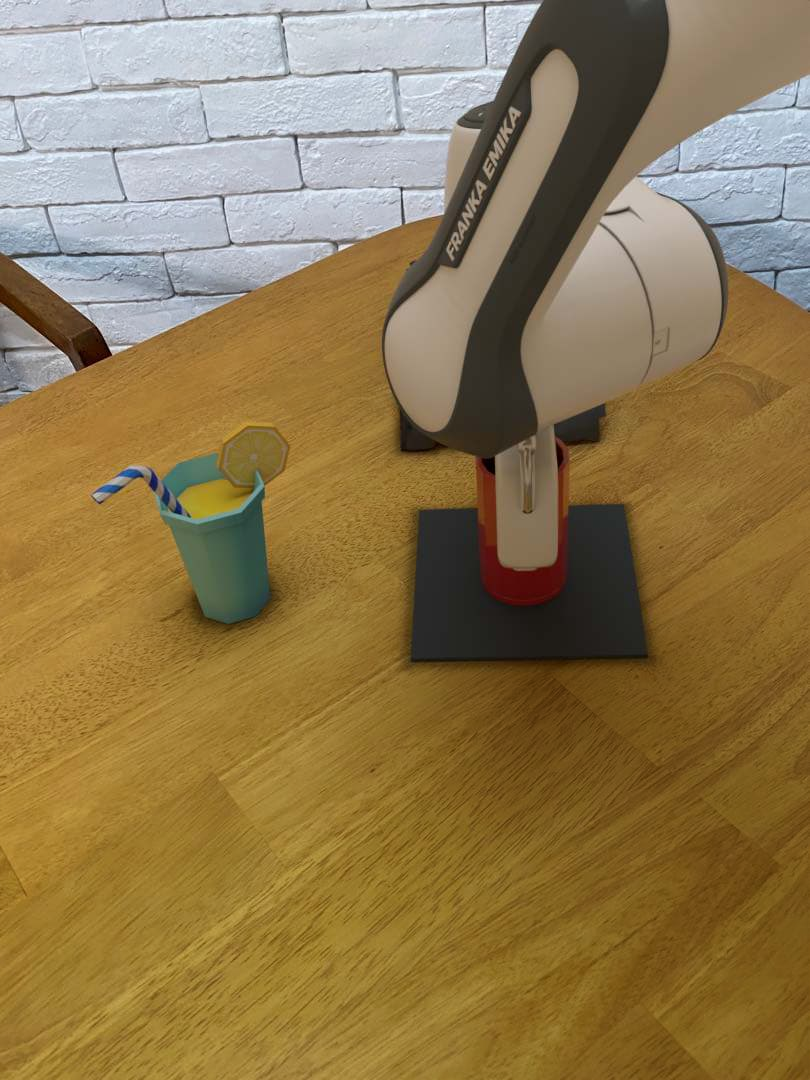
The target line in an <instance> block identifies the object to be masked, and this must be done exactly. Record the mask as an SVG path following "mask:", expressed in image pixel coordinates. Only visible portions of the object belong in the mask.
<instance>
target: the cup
mask: <svg viewBox="0 0 810 1080" xmlns="http://www.w3.org/2000/svg"><path fill="white" fill-rule="evenodd" d="M290 449H291V445H290V442H288V441H287V438H285V437H284V436H283V434H282V433H281V431H279V429H278V427H276V425H275V424H274V423H273V422H263V421H262V422H261V421H260V422H259V421H244V422H242V423H241V424H240V425H238V426H237V427H236V428H234V429H233V430H232V431H230V432H229V433H228V434H226V435H225V436H224V437H222V438H221V439H220V444H219V449H218V452H215V453H211V454H208V455H204V456H199V457H196V458H191V459H187V460H184V461H179V462H178V463H177V464H175V466H173V468H172V469H170V470H169V471H168V472H167V473H166V474H165V475H164V476H163V477H162V479H161V478H160V477H159V476H158V475H157V474H156V472H155V471H154V470H153V469H152V468H150V467H147V466H145V465H133V464H132V465H131V464H130V465H129V466H128V467H126V468H124V469H123V470H122V471H121V472H120V473H118V474H117V475H115V476H114V477H113V478H111V479H110V480H109V481H107V482H106V483H105V484H104V485H102V486H100V487H99V488H98V489H96V490H95V491H94V492H93V493H91V494H90V496H91V498H92V500H94V501H95V502H96V503H97V504H98V505H102V504H103V503H104V502H106V501H107V500H109V499H110V498H111V497H112V496H114V495H115V494H117V493H119V491H121V490H123V489H124V488H125V487H127V486H128V485H129V484H132V482H133V481H135V480H136V479H138V478H141V479H142V480H143V481H144V482H145V483H146V484H147V485H148V487H149V488H150V489H151V490H152V491H153V495H154V499H155V501H156V505H157V508H158V512H159V516H160V517H161V520H162V521H163V524H164V525H166V526H168V527H169V528H170V532H171V534H172V537H173V539H174V541H175V544H176V547H177V550H178V551H179V554H180V557H181V559H182V562H183V564H184V565H183V566H184V567H185V569H186V572H187V575H188V577H189V580H190V582H191V584H192V588H193V590H194V593H195V595H196V598H197V600H198V603H199V605H200V608H201V610H202V613H203V615H204V617H205V618H208V619H211V620H214V621H217V622H221V623H224V624H226V625H230V624H234V623H237V622H241V621H244V620H247V619H251V618H254V617H257V615H258V614H259V613H260V612H261V611H262V609H263V608H264V607H265V606H266V605H267V603H268V602H269V601H270V600H271V590H270V589H271V588H270V579H269V569H268V568H269V567H268V556H267V545H266V536H265V535H266V534H265V533H266V532H265V522H264V512H263V500H264V499H265V498H266V493H265V492H266V485H268V484H269V483H270V482H272V481H273V480H274V479H276V478H277V477H279V476H280V475H281V474H283V473H284V472H285V470H286V466H287V461H288V457H289V453H290Z"/></svg>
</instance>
